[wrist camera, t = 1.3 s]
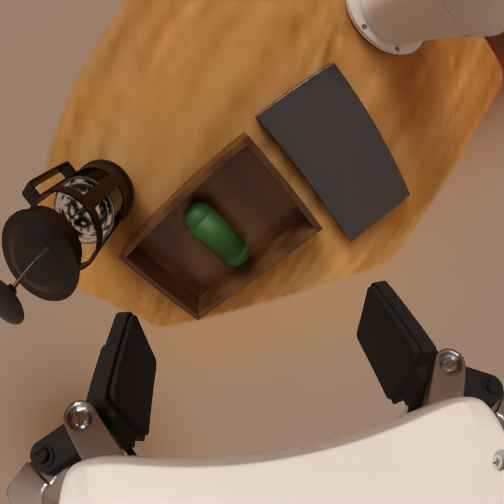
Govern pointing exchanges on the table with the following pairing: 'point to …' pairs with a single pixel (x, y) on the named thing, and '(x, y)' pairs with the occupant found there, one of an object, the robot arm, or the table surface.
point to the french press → (60, 232)
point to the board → (337, 149)
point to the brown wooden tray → (235, 214)
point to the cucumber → (216, 234)
